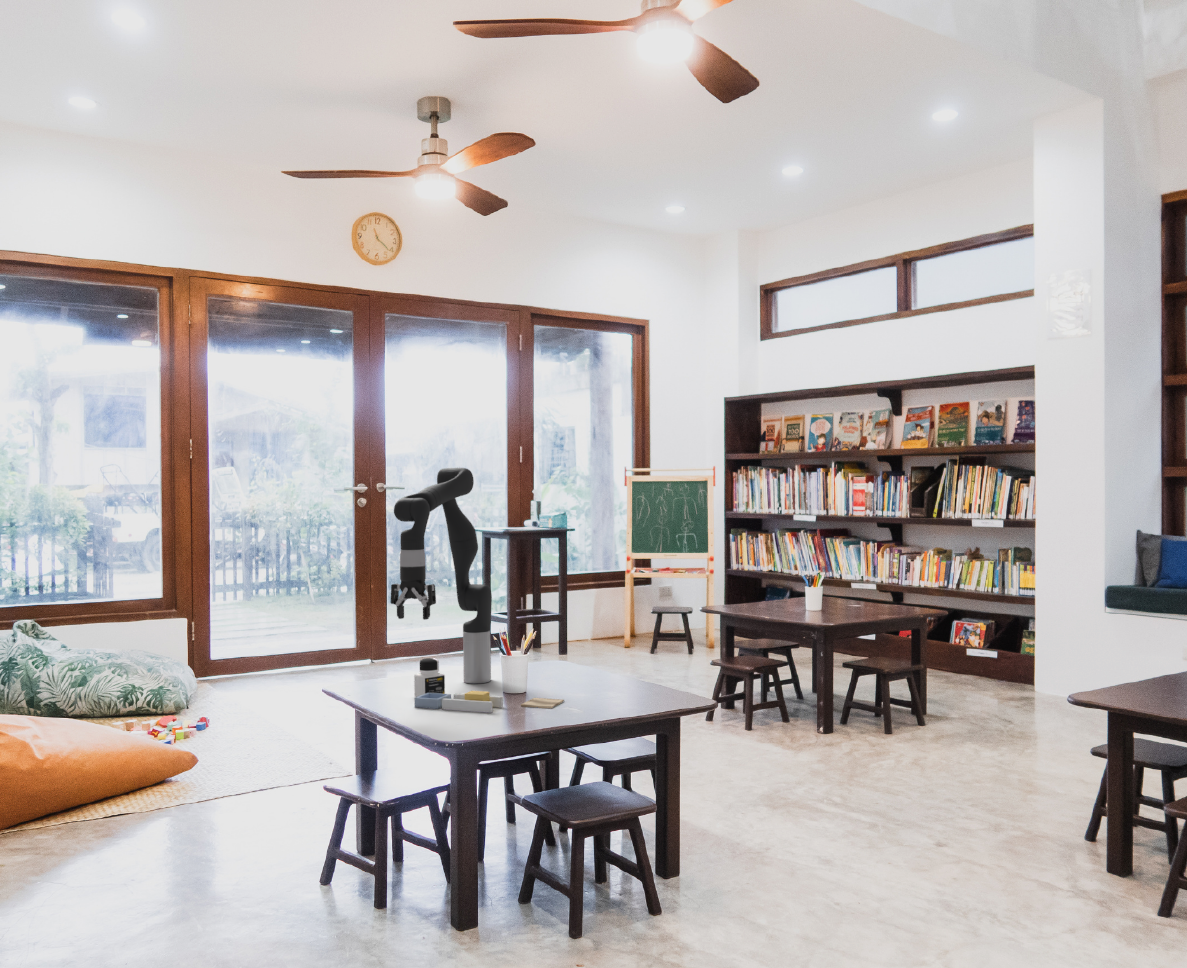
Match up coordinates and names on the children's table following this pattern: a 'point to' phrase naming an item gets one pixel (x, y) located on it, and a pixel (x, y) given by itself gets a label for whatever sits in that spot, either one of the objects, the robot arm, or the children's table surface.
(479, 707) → the frosted channel
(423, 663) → the medicine bottle
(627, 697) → the children's table surface
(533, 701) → the cork pad
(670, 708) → the children's table surface
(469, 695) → the ochre block
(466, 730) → the children's table surface
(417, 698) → the bin
